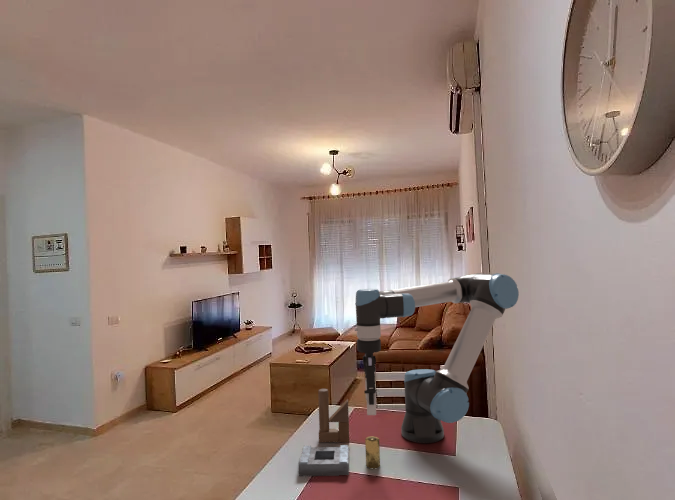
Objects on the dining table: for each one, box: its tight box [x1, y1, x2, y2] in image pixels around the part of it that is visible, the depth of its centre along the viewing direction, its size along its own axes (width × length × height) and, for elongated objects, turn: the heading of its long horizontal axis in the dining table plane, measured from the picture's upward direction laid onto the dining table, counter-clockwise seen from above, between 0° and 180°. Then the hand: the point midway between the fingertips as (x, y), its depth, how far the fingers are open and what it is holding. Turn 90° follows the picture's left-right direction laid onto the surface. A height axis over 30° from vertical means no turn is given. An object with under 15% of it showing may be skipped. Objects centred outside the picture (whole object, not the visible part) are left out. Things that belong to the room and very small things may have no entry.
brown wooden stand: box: [317, 388, 350, 443], centre depth 145 cm, size 4×11×18 cm, turn 87°
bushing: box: [364, 435, 381, 470], centre depth 127 cm, size 4×4×8 cm
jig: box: [298, 444, 350, 477], centre depth 127 cm, size 15×11×4 cm
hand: (370, 406), depth 127 cm, fingers open, 13 cm apart
